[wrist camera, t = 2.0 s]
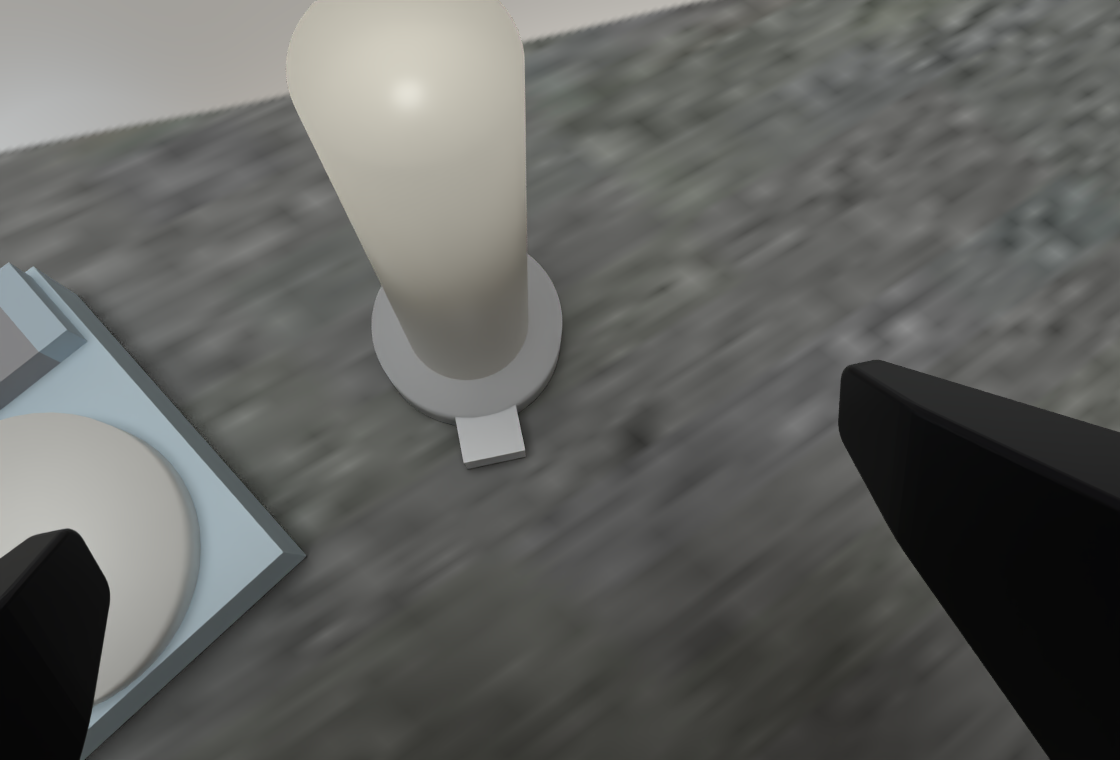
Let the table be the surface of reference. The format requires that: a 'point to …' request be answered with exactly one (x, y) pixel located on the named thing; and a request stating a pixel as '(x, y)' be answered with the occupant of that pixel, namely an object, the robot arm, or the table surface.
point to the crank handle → (436, 201)
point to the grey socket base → (124, 494)
